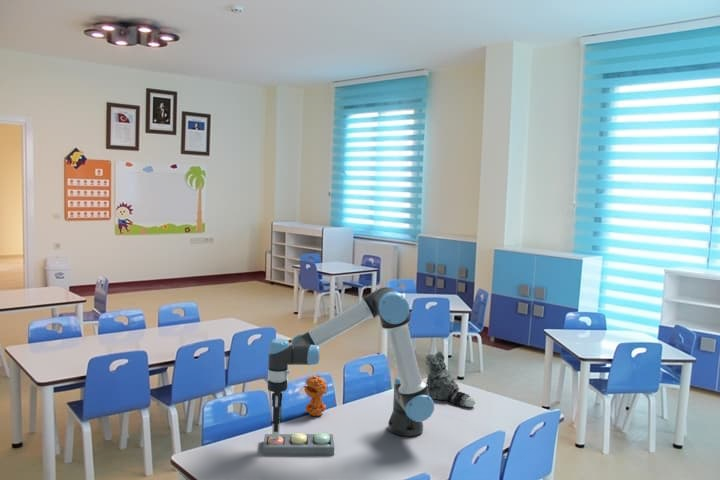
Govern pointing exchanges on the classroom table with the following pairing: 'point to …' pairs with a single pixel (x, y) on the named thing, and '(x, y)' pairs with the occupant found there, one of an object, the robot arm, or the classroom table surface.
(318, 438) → the green button
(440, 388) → the raccoon plush
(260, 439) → the classroom table surface
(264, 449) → the button panel
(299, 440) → the yellow button
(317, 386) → the toy dinosaur
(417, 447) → the classroom table surface
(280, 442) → the coral button
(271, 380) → the robot arm
